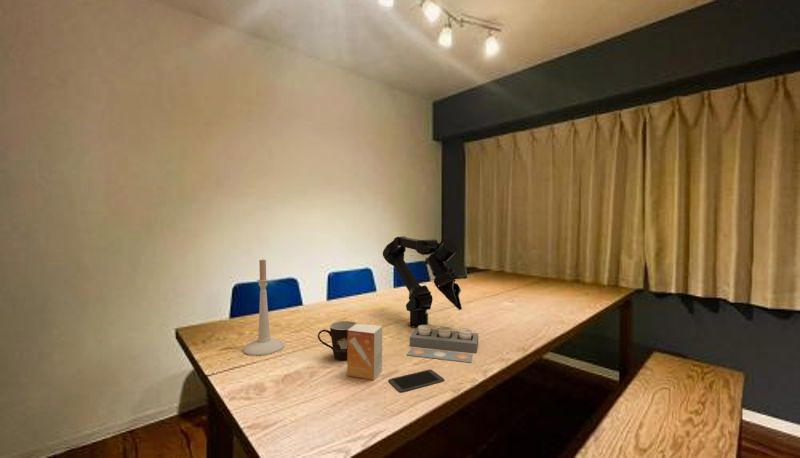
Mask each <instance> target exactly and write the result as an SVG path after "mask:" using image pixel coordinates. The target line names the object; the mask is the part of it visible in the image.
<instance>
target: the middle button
mask: <svg viewBox="0 0 800 458" xmlns="http://www.w3.org/2000/svg"><path fill="white" fill-rule="evenodd" d="M437 330H438V331H439V337H440V338H450V332H451V331H452V328H451V327H450V326H439V327H437Z"/></svg>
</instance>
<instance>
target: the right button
mask: <svg viewBox="0 0 800 458" xmlns="http://www.w3.org/2000/svg"><path fill="white" fill-rule="evenodd" d="M458 332H459V339H461V340H471V333H473V330H472V329H470V328H465V327H464V328H459V329H458Z"/></svg>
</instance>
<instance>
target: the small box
mask: <svg viewBox="0 0 800 458" xmlns="http://www.w3.org/2000/svg"><path fill="white" fill-rule="evenodd" d="M346 362H347V364H346V365H347V371H346V372H347V375H346V376H348V377H353V378H360V379H365V380H372V381H375V380H376V379H377V377H378V376H379V375H380V374H381V373H382V371H383V326H382V325H374V324H368V323H367V324H365V323H363V324H362V323H357V324H355V325H354V326H352V327H351V328H350V329H348V353H347V361H346Z"/></svg>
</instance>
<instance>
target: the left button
mask: <svg viewBox="0 0 800 458" xmlns="http://www.w3.org/2000/svg"><path fill="white" fill-rule="evenodd" d="M417 328H418V329H419V335H420V336H430V329H432V326H431V325H429V324H427V325H420V326H418V327H417Z"/></svg>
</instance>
